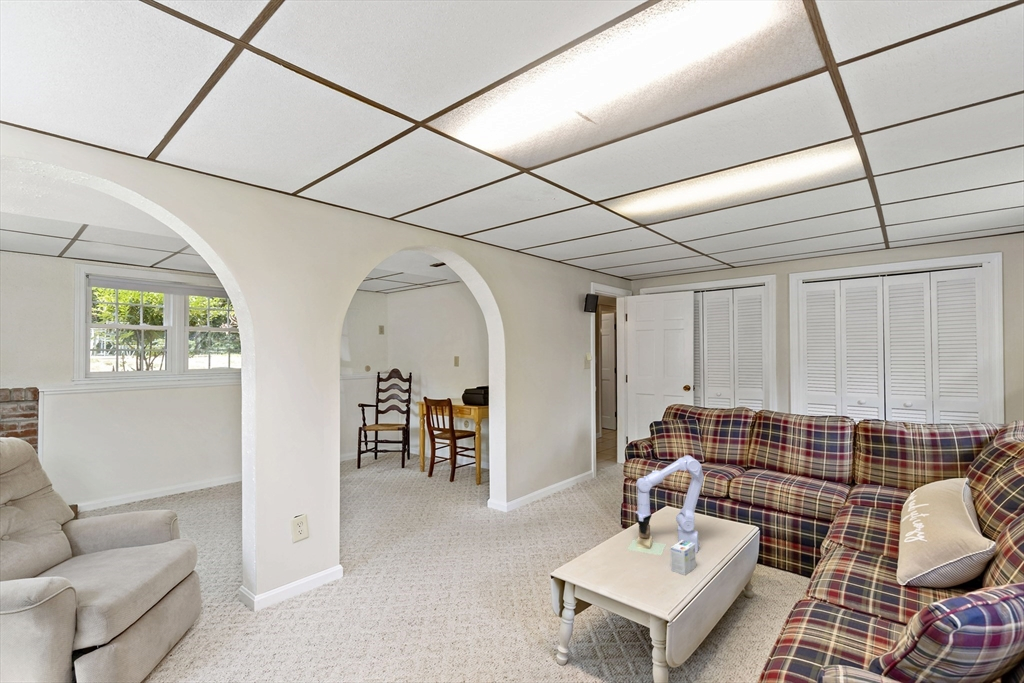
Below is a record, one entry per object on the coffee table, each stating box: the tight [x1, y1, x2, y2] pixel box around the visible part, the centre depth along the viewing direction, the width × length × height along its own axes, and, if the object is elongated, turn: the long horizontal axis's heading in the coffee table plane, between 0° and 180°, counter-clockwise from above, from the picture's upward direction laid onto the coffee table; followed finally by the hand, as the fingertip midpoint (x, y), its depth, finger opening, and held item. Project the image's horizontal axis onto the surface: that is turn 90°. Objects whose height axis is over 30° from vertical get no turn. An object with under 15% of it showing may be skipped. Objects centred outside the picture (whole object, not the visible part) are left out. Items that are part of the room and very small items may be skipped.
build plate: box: [626, 538, 667, 556], centre depth 231 cm, size 16×14×1 cm
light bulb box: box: [670, 540, 697, 576], centre depth 209 cm, size 11×7×11 cm, turn 135°
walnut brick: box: [638, 524, 651, 538], centre depth 233 cm, size 4×4×5 cm
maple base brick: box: [636, 535, 653, 549], centre depth 233 cm, size 6×6×4 cm
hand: (644, 531), depth 233 cm, fingers closed on walnut brick, 4 cm apart
